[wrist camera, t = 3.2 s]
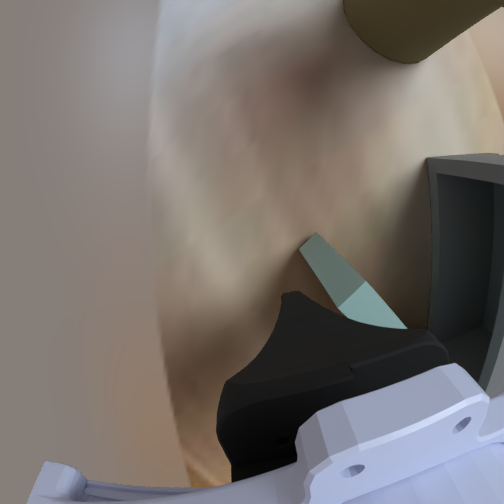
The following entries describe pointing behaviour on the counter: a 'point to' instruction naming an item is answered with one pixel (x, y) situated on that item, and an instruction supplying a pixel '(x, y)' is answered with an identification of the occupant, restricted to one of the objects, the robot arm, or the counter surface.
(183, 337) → the counter surface
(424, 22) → the cork
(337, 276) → the sage green bent plank
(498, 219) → the cupboard
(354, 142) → the counter surface
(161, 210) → the counter surface
